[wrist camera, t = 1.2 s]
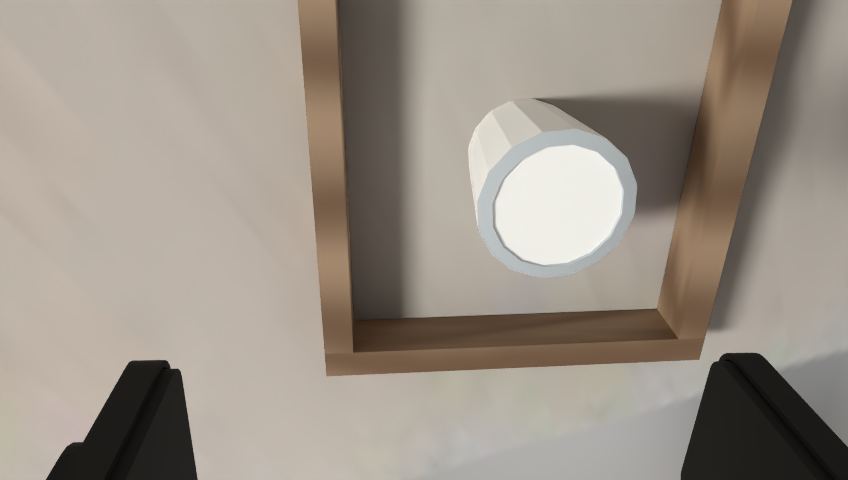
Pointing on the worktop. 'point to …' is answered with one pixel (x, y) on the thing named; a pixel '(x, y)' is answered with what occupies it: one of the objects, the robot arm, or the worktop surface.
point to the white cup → (548, 189)
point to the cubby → (550, 332)
